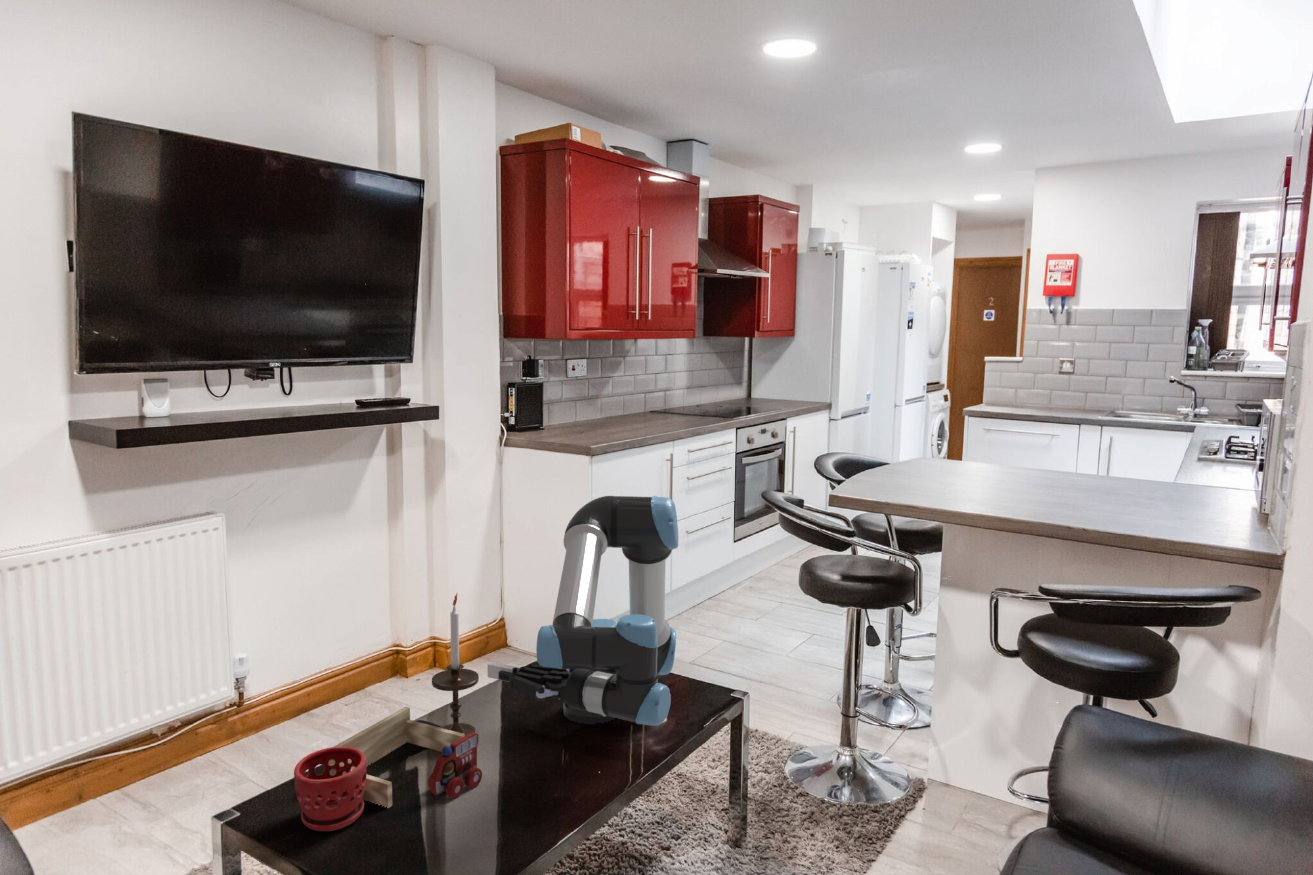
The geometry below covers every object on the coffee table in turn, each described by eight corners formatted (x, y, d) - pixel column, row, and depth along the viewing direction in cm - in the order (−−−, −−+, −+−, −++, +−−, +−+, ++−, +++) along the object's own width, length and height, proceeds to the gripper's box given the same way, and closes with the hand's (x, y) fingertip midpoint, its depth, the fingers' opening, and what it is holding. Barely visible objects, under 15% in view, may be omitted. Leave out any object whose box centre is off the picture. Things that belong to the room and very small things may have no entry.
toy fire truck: (420, 796, 170) (419, 748, 169) (465, 771, 180) (464, 725, 179) (443, 806, 166) (443, 758, 165) (487, 780, 177) (487, 734, 176)
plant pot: (296, 809, 165) (294, 752, 163) (365, 795, 170) (363, 740, 169) (295, 845, 153) (293, 784, 151) (370, 830, 158) (368, 770, 157)
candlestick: (469, 721, 204) (467, 584, 201) (486, 738, 195) (484, 595, 192) (426, 731, 198) (423, 591, 194) (441, 750, 189) (439, 603, 186)
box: (464, 754, 187) (464, 721, 186) (388, 808, 165) (387, 770, 165) (406, 738, 195) (405, 706, 194) (325, 787, 173) (324, 751, 172)
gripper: (573, 723, 151) (469, 699, 161) (607, 697, 162) (508, 676, 172) (573, 684, 150) (469, 662, 160) (607, 660, 162) (508, 641, 172)
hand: (489, 669), depth 166 cm, fingers closed
